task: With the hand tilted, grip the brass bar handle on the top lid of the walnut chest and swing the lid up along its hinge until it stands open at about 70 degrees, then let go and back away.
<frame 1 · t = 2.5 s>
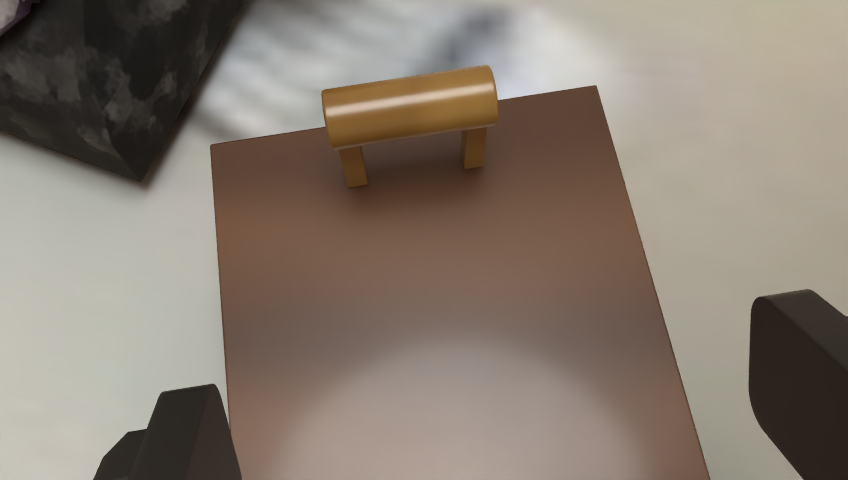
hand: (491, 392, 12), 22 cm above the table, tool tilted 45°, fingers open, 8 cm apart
lid: (445, 321, 23), point 12 cm above the table, hinge at 0.0°
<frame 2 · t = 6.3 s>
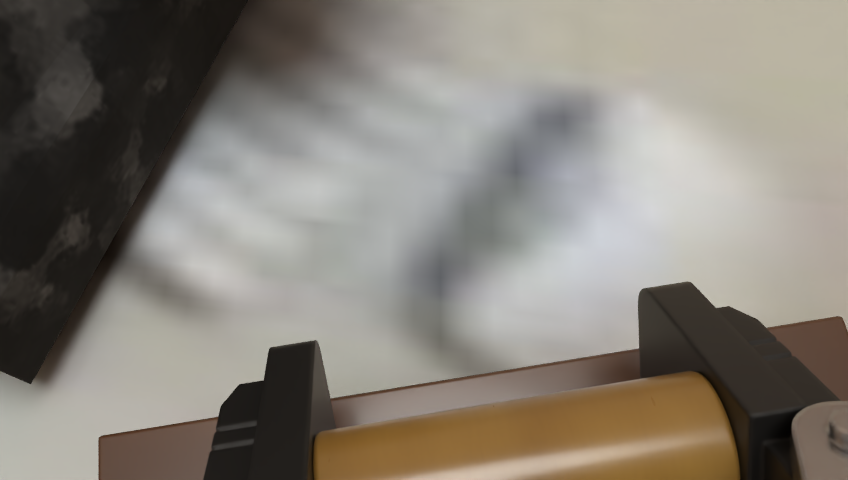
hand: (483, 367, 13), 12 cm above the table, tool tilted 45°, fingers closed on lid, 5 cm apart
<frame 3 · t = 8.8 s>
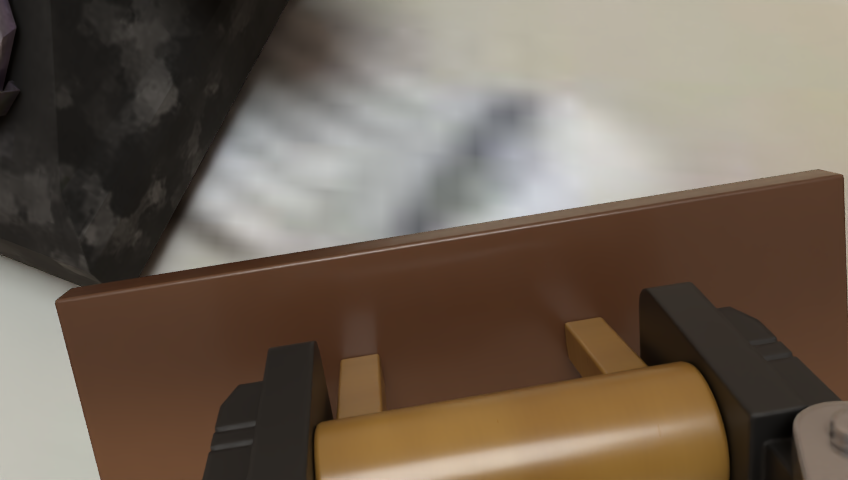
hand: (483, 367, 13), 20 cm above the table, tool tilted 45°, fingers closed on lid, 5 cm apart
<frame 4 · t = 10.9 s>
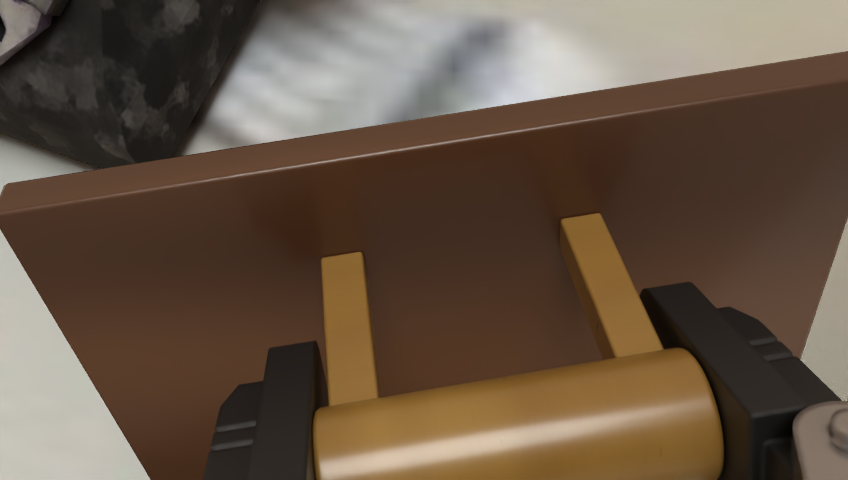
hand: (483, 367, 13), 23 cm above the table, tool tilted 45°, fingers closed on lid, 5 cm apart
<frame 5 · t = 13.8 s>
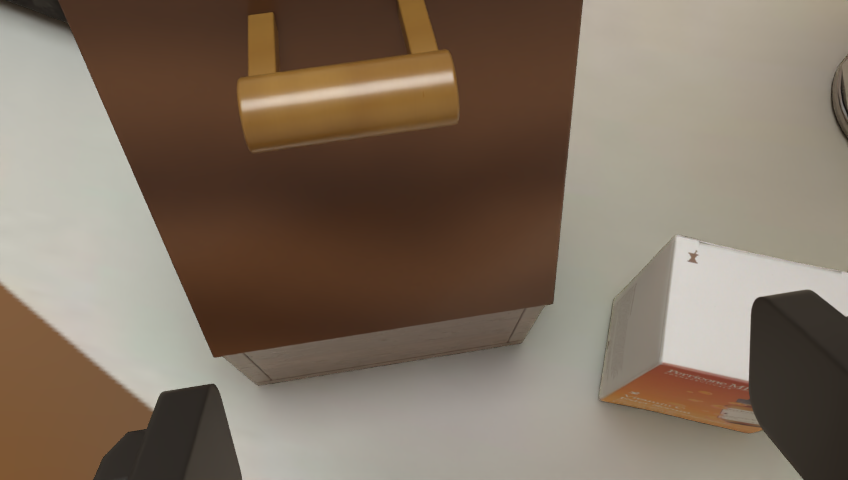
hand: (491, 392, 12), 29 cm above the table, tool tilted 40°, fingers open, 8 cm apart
lid: (368, 223, 25), point 18 cm above the table, hinge at 65.9°
chest: (369, 222, 44), on the table
small box: (679, 365, 42), on the table
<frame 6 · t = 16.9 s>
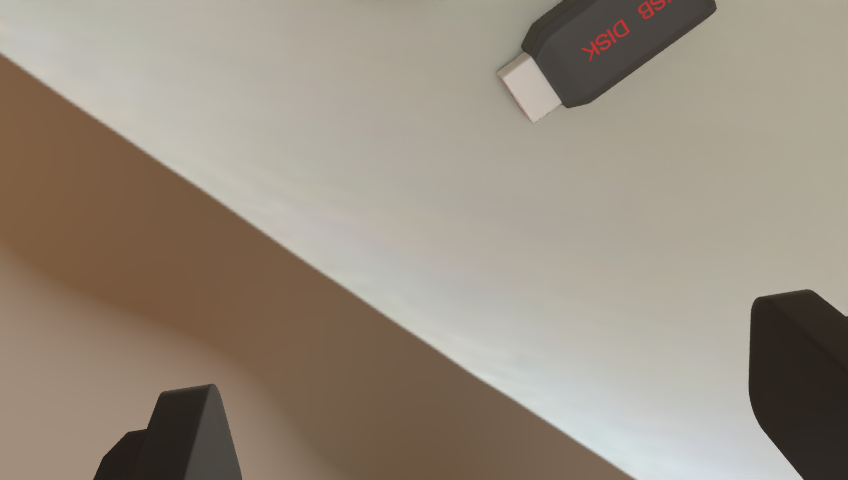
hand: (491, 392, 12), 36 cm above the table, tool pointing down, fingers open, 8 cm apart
usb drive: (595, 30, 46), on the table
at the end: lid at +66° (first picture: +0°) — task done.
